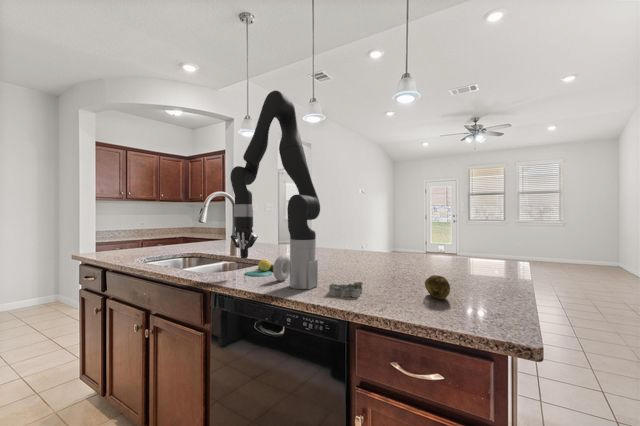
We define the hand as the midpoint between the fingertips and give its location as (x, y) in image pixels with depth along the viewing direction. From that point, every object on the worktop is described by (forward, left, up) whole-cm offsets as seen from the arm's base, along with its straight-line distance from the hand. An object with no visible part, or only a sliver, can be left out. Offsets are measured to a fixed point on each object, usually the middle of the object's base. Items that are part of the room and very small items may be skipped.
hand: (244, 258), depth 126 cm
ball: (+2, -15, -5) cm, 16 cm away
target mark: (+1, -10, -8) cm, 13 cm away
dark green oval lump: (-73, -8, -8) cm, 74 cm away
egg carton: (-46, +2, -9) cm, 47 cm away
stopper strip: (+1, -19, -8) cm, 20 cm away
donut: (-16, -4, -8) cm, 19 cm away
